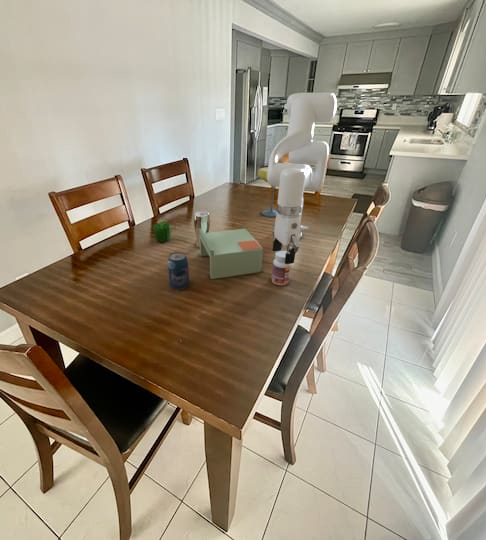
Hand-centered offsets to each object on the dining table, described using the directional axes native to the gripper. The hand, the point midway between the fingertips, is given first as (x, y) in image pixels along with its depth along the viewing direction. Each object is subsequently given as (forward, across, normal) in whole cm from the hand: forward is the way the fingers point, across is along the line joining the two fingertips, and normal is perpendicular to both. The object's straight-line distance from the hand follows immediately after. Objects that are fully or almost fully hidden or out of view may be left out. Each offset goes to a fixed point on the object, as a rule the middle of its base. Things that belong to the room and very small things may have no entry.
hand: (282, 256), depth 102 cm
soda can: (+11, +8, +36) cm, 38 cm away
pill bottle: (+11, 0, 0) cm, 11 cm away
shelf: (+10, +18, +14) cm, 25 cm away
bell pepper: (+10, +48, +38) cm, 61 cm away
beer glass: (+10, +38, +21) cm, 44 cm away
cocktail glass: (+9, +68, -26) cm, 73 cm away
